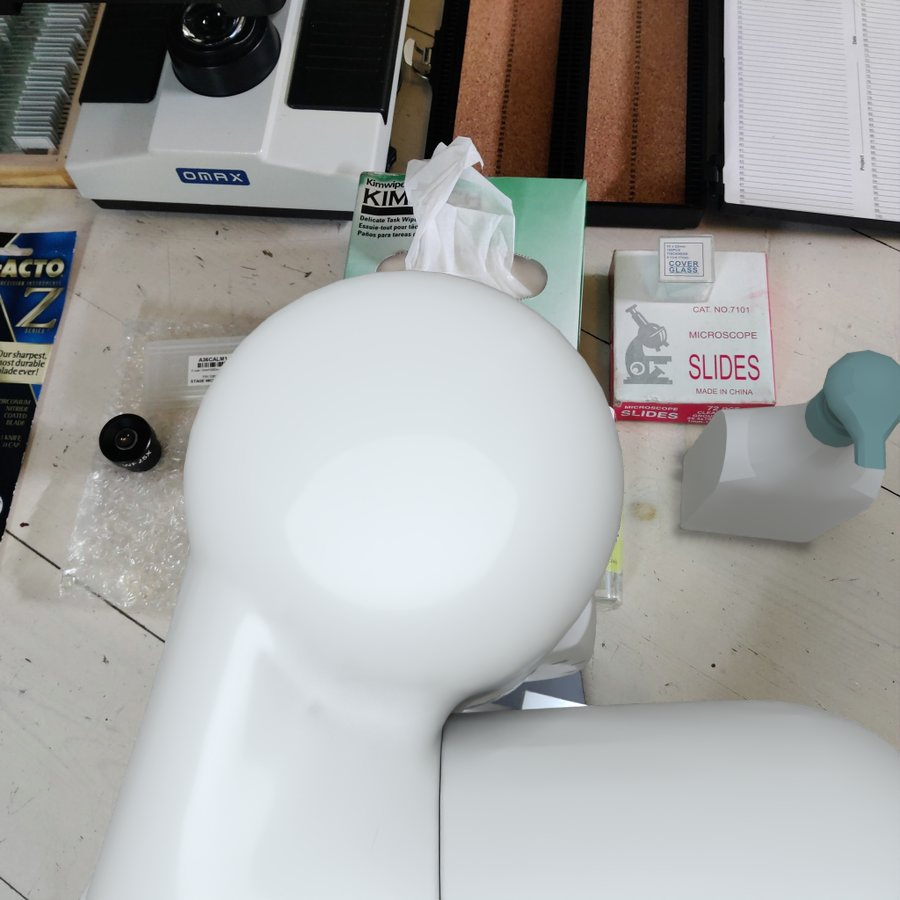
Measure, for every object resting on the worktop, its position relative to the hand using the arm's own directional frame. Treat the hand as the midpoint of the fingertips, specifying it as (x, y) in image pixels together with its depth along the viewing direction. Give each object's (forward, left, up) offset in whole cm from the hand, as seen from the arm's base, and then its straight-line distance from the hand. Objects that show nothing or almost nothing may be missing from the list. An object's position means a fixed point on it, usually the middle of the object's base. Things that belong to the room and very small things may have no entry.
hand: (464, 637), depth 41 cm
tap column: (-5, -4, -29) cm, 30 cm away
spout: (-4, 0, -11) cm, 12 cm away
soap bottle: (+11, -25, -29) cm, 40 cm away
